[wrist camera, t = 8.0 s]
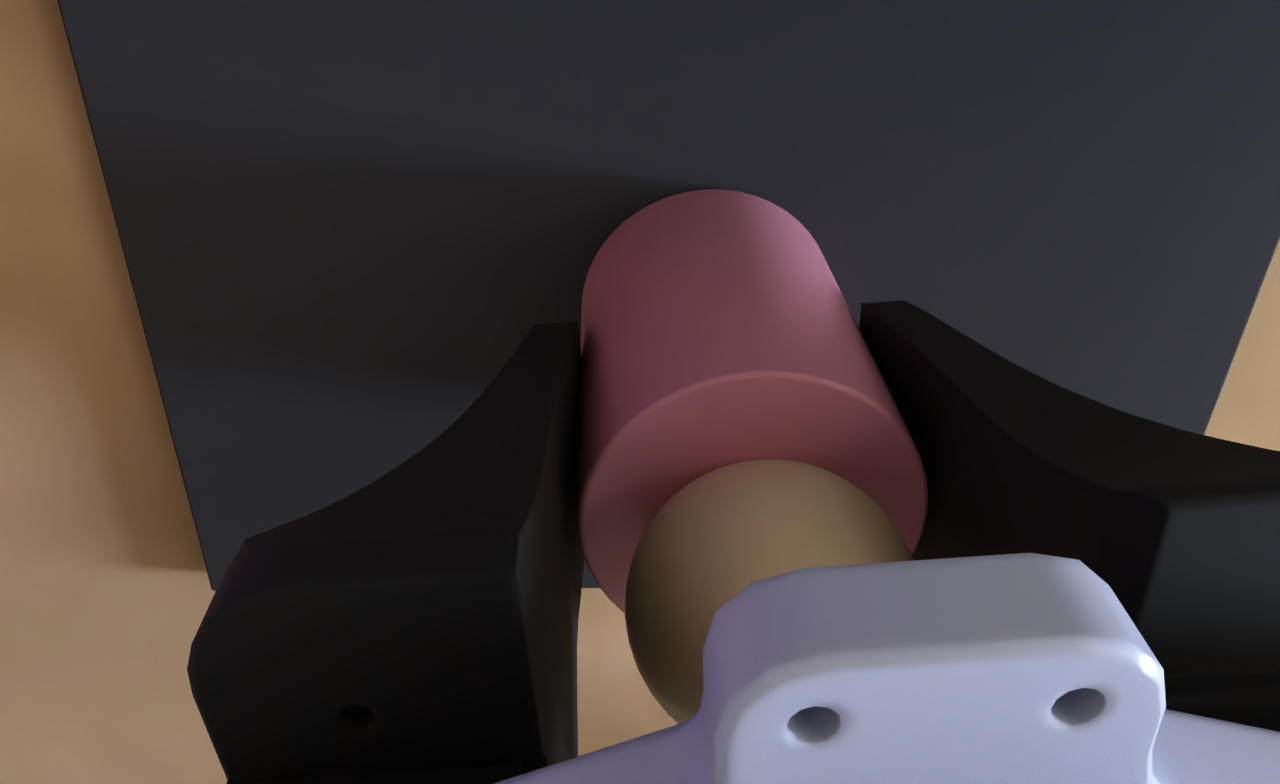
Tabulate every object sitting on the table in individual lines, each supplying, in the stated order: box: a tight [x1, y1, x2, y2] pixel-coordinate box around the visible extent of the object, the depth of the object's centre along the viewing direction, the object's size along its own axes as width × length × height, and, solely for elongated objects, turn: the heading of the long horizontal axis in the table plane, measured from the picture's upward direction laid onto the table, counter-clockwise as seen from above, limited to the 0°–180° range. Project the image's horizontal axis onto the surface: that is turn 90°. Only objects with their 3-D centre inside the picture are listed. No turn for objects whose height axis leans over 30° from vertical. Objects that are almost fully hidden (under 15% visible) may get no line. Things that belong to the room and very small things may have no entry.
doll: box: [577, 189, 928, 724], centre depth 12 cm, size 4×4×8 cm
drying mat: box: [57, 0, 1280, 591], centre depth 16 cm, size 18×12×1 cm, turn 88°
